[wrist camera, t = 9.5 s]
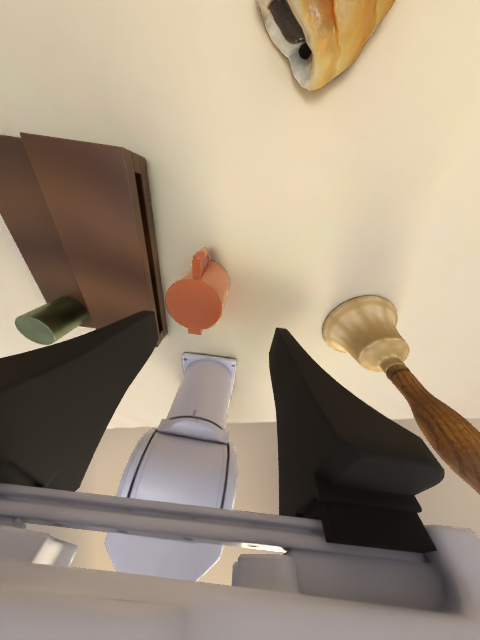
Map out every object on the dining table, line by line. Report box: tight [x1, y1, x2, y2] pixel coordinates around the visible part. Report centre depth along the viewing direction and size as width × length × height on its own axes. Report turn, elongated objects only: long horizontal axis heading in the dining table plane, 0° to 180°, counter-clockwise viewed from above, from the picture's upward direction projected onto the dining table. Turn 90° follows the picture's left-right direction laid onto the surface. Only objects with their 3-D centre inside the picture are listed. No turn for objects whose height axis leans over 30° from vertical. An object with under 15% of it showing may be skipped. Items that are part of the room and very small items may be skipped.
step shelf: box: [0, 132, 167, 347], centre depth 18 cm, size 18×14×3 cm
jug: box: [166, 247, 230, 335], centre depth 17 cm, size 7×5×6 cm
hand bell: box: [322, 296, 480, 494], centre depth 15 cm, size 8×8×16 cm
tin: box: [15, 297, 88, 345], centre depth 20 cm, size 4×4×4 cm
